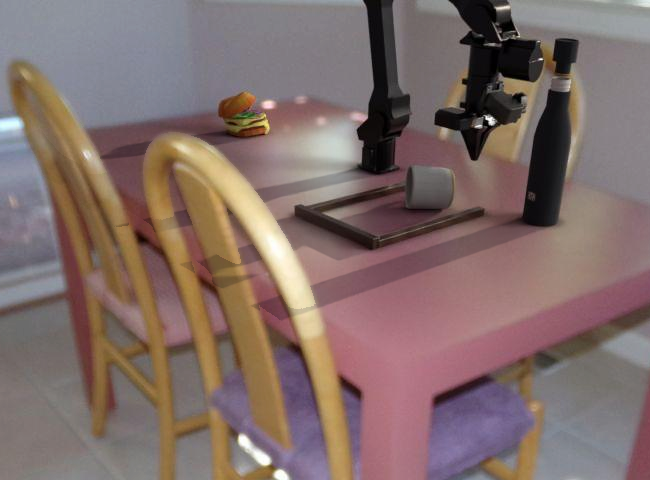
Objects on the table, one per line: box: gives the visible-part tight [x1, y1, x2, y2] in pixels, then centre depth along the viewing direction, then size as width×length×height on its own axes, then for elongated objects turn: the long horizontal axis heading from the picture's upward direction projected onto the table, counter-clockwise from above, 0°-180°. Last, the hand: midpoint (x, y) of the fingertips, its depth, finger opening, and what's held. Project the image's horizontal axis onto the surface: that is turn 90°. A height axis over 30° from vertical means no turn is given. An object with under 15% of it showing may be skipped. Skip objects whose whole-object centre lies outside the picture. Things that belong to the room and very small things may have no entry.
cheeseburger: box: [217, 91, 270, 138], centre depth 183 cm, size 10×11×10 cm
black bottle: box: [521, 37, 580, 227], centre depth 135 cm, size 6×6×30 cm
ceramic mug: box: [404, 164, 456, 210], centre depth 145 cm, size 11×8×8 cm
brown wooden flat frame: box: [293, 180, 486, 250], centre depth 141 cm, size 28×20×2 cm
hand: (474, 160), depth 152 cm, fingers closed
